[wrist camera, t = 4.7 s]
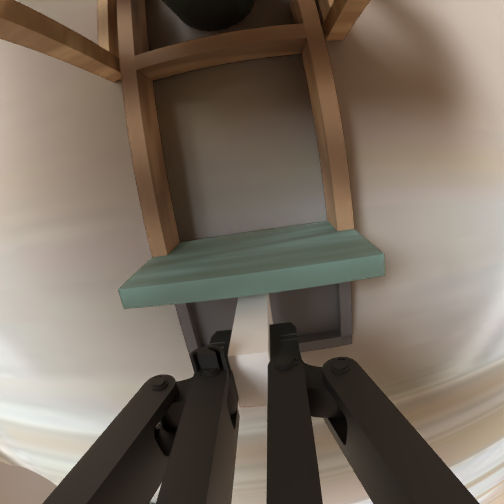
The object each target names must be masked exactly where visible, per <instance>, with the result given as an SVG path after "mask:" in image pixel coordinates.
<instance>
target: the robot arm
mask: <svg viewBox="0 0 504 504" xmlns="http://www.w3.org/2000/svg"><path fill="white" fill-rule="evenodd" d="M189 356H190V359H191V362H192V366H193V369H194V372H195V373H194V376H193V377H192V378H190V379H187V380H183V381H179V382H176V381H175V379H174V378H173V377H172V376H170V375H157V376H154V377H152V378H150V379H149V380H148V381H147V382H146V383H145V384H144V385H143V386H142V387H141V388H140V390H139V391H138V392H137V393H136V394H135V396H134V397H133V398H132V399H131V400H130V401H129V403H128V404H127V405H126V406H125V407H124V408H123V410H122V411H121V412H120V413H119V414H118V416H117V417H116V418H115V419H114V420H113V421H112V423H111V424H110V425H109V426H108V427H107V429H106V430H105V431H104V432H103V433H102V434H101V436H100V437H99V438H98V439H97V440H96V442H95V443H94V444H93V445H92V446H91V447H90V449H89V450H88V451H87V452H86V453H85V454H84V456H83V457H82V458H81V459H80V460H79V461H78V463H77V464H76V465H75V466H74V467H73V469H72V470H71V471H70V472H69V473H68V474H67V476H66V477H65V478H64V479H63V480H62V481H61V483H60V484H59V485H58V486H57V488H56V489H55V490H54V491H53V492H52V493H51V494H50V496H49V497H48V498H47V499H46V500H45V501H44V503H43V504H149V502H150V501H151V499H152V497H153V496H154V494H155V492H156V491H157V489H158V488H159V486H160V484H161V483H162V484H161V488H160V491H159V495H158V498H157V502H156V504H231V500H232V489H233V479H234V469H235V458H236V448H237V438H238V427H239V417H240V416H239V411H238V408H237V406H238V401H239V405H240V407H253V406H265V405H268V410H267V504H323V503H322V495H321V487H320V479H319V471H318V463H317V456H316V449H315V442H314V434H313V427H312V421H311V416H312V417H323V418H324V420H325V422H326V424H327V426H328V428H329V429H330V431H331V433H332V434H333V436H334V438H335V440H336V441H337V443H338V445H339V446H340V448H341V450H342V452H343V453H344V455H345V457H346V458H347V460H348V462H349V464H350V465H351V467H352V469H353V470H354V472H355V474H356V475H357V477H358V479H359V480H360V482H361V484H362V485H363V487H364V489H365V490H366V492H367V494H368V496H369V497H370V499H371V501H372V502H373V504H479V503H478V501H477V500H476V499H475V498H474V497H473V496H472V494H471V493H470V492H469V491H468V490H467V489H466V487H465V486H464V485H463V484H462V483H461V482H460V480H459V479H458V478H457V477H456V476H455V475H454V473H453V472H452V471H451V470H450V469H449V468H448V467H447V465H446V464H445V463H444V462H443V461H442V460H441V458H440V457H439V456H438V455H437V454H436V453H435V452H434V450H433V449H432V448H431V447H430V446H429V445H428V443H427V442H426V441H425V440H424V439H423V438H422V437H421V435H420V434H419V433H418V432H417V431H416V430H415V428H414V427H413V426H412V425H411V424H410V423H409V422H408V420H407V419H406V418H405V417H404V416H403V415H402V414H401V412H400V411H399V410H398V409H397V408H396V407H395V406H394V404H393V403H392V402H391V401H390V400H389V399H388V398H387V396H386V395H385V394H384V393H383V392H382V391H381V390H380V388H379V387H378V386H377V385H376V384H375V383H374V382H373V380H372V379H371V378H370V377H369V376H368V375H367V374H366V372H365V371H364V370H363V369H362V368H361V367H360V366H359V364H358V363H357V362H356V361H354V360H353V359H351V358H347V357H337V358H333V359H330V360H328V361H327V362H326V363H325V364H324V365H323V367H315V366H311V365H308V364H306V363H304V362H303V360H302V359H301V355H300V349H299V343H298V337H297V331H296V326H294V325H293V324H292V323H291V322H286V323H278V324H273V321H272V314H271V307H270V300H269V293H266V294H259V295H251V296H243V297H238V302H237V307H236V312H235V318H234V323H233V329H232V330H222V331H216V333H215V334H214V335H213V336H212V337H211V339H210V343H209V345H206V346H202V347H199V348H197V349H195V350H194V351H192V352H191V354H190V355H189ZM158 423H159V424H158ZM156 426H157V427H156Z"/></svg>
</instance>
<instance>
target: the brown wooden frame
mask: <svg viewBox="0 0 504 504" xmlns="http://www.w3.org/2000/svg"><path fill="white" fill-rule="evenodd" d="M369 1H370V0H318V2H319V6H320V9H321V13H322V17H323V21H324V23H323V25H322V28H323V32H324V36H325V40H326V41H331V40H343V39H344V37H345V36H346V34H347V33H348V31H349V30H350V29H351V27H352V26H353V24H354V23H355V21H356V20H357V18H358V17H359V16H360V14H361V13H362V11H363V10H364V8H365V7H366V6H367V4H368V3H369ZM97 13H98V45H97V44H95V43H94V42H92V41H90V40H89V39H87V38H85V37H83V36H82V35H80V34H78V33H76V32H74V31H73V30H71V29H69V28H67V27H65V26H64V25H62V24H60V23H58V22H56V21H54V20H53V19H51V18H49V17H47V16H45V15H43V14H41V13H39V12H37V11H35V10H33V9H31V8H29V7H27V6H25V5H23V4H21V3H19V2H17V1H15V0H0V39H3V40H6V41H9V42H12V43H15V44H18V45H21V46H24V47H27V48H30V49H33V50H36V51H38V52H41V53H44V54H46V55H49V56H52V57H54V58H57V59H60V60H62V61H65V62H67V63H70V64H72V65H75V66H77V67H80V68H82V69H84V70H87V71H89V72H92V73H94V74H96V75H99V76H101V77H103V78H105V79H108V80H110V81H112V82H114V81H117V80H120V79H121V70H120V58H119V44H118V27H117V0H98V8H97Z"/></svg>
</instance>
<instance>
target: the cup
mask: <svg viewBox="0 0 504 504" xmlns="http://www.w3.org/2000/svg"><path fill="white" fill-rule="evenodd" d="M162 1H163V2H164V3H165V4H166V5H167V6H168V7H169V8H170V9H171V10H172V11H173V12H174V13H175V14H176V15H177V16H178V17H179V18H180V19H181V20H182V21H183V22H184V23H185V24H187V25H188V26H190V27H192V28H195V29H198V30H203V31H218V30H222V29H226V28H229V27H231V26H234V25H236V24H238V23H239V22H240V21H242V20H243V19H244V18H245V17H246V16H247V15H248V14H249V13H250V11H251V9H252V7H253V5H254V0H162Z"/></svg>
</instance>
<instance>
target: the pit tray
mask: <svg viewBox="0 0 504 504" xmlns="http://www.w3.org/2000/svg"><path fill="white" fill-rule="evenodd" d="M269 300H270V307H271V314H272V321H273V324H278V323H286V322H291V323H292V324H293V325H294V326H296V331H297V337H298V343H299V349H300V352H305V351H312V350H319V349H325V348H331V347H337V346H343V345H349V344H352V307H351V281H349V282H343V283H336V284H330V285H323V286H316V287H310V288H303V289H296V290H289V291H281V292H274V293H269ZM237 302H238V297H235V298H226V299H218V300H209V301H200V302H191V303H181V304H175V306H176V310H177V314H178V317H179V321H180V324H181V328H182V331H183V335H184V338H185V342H186V345H187V348H188V352H189V355H190V354H191V352H192V351H194V350H195V349H197V348H199V347H202V346H206V345H209V343H210V339H211V337H212V336H213V335H214V334H215V333H216V331H222V330H232V329H233V323H234V318H235V312H236V307H237Z"/></svg>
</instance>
